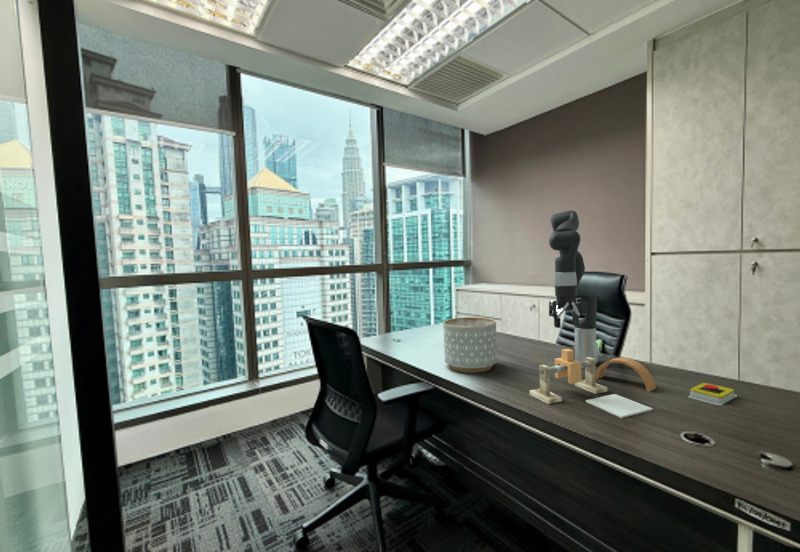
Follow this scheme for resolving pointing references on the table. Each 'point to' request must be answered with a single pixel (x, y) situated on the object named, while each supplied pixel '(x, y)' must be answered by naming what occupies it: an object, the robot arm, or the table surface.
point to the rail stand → (586, 384)
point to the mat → (619, 405)
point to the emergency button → (712, 394)
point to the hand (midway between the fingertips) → (566, 326)
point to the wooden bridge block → (569, 366)
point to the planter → (470, 344)
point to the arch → (633, 364)
